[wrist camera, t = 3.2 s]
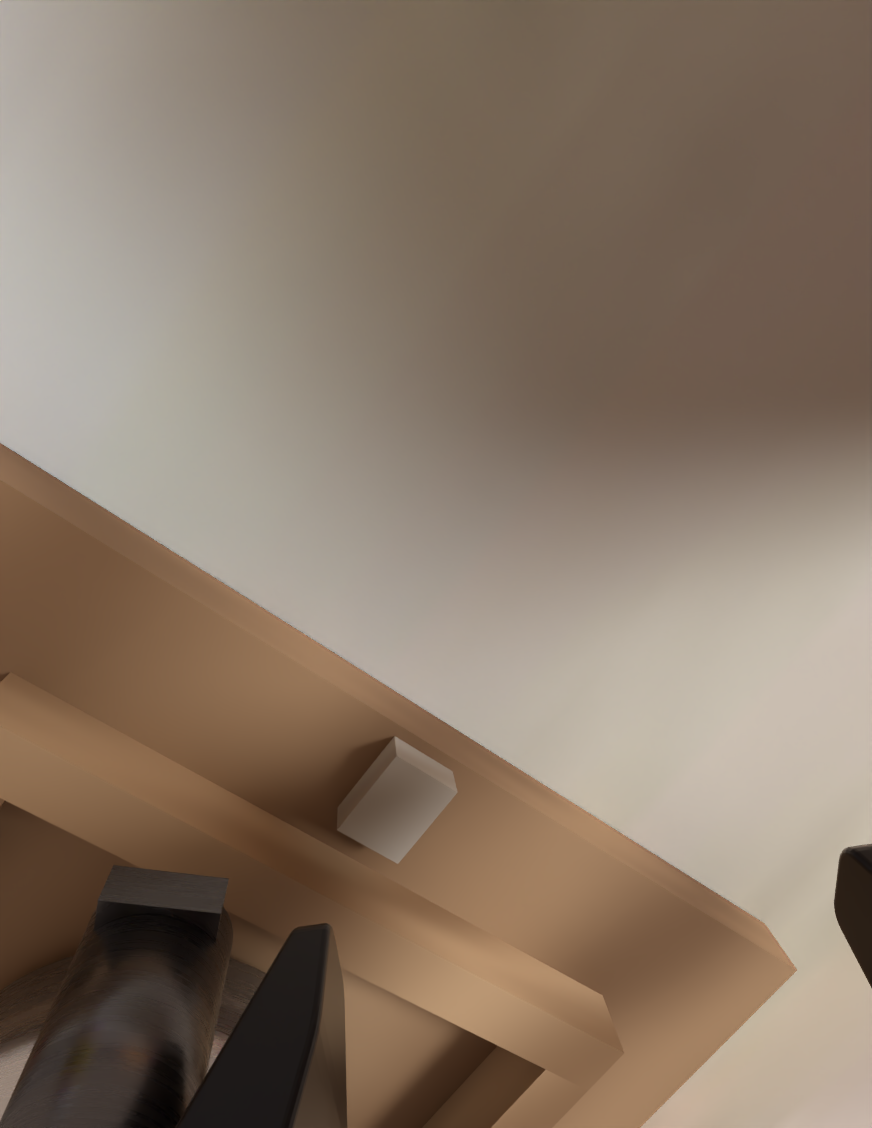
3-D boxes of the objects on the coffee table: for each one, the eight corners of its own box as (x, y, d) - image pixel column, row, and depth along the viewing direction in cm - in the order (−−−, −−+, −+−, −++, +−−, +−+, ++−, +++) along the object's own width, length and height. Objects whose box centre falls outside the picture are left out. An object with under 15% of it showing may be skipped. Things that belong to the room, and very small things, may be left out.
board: (765, 923, 16) (834, 1024, 13) (351, 1349, 18) (351, 1494, 16) (-198, 318, 11) (-350, 314, 8) (-584, 1033, 13) (-782, 1181, 11)
